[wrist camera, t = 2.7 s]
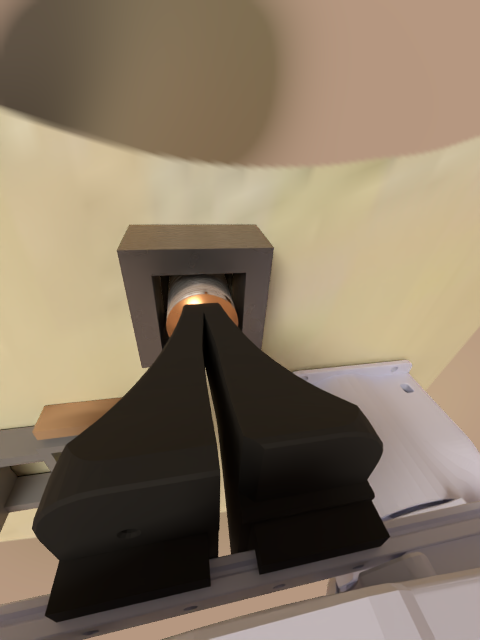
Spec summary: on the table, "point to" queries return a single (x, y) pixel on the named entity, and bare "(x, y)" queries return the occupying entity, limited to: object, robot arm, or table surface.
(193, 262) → the plunger housing
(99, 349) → the table surface
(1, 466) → the gray divided frame
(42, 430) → the housing
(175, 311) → the copper topped cylinder
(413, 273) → the table surface
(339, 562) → the robot arm
